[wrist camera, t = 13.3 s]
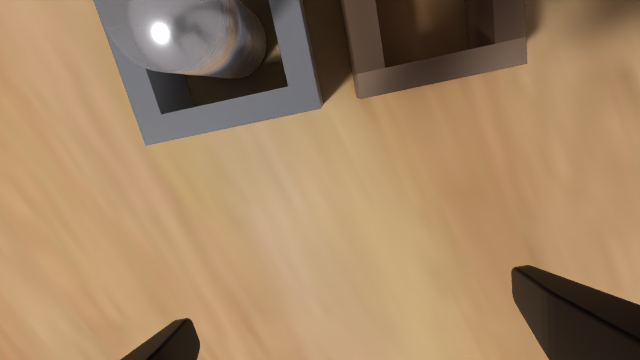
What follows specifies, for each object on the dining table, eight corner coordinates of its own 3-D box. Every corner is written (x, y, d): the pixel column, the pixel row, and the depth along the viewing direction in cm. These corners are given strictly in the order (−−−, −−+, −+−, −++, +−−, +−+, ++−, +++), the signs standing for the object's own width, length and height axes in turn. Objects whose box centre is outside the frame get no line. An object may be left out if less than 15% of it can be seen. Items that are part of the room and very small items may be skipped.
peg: (256, -5, 18) (197, -77, 10) (273, 70, 19) (232, 58, 11) (188, 12, 18) (79, -44, 10) (209, 85, 19) (125, 83, 11)
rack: (274, -139, 16) (255, -211, 12) (323, 104, 19) (321, 108, 15) (109, -91, 17) (42, -144, 13) (181, 134, 20) (145, 145, 16)
